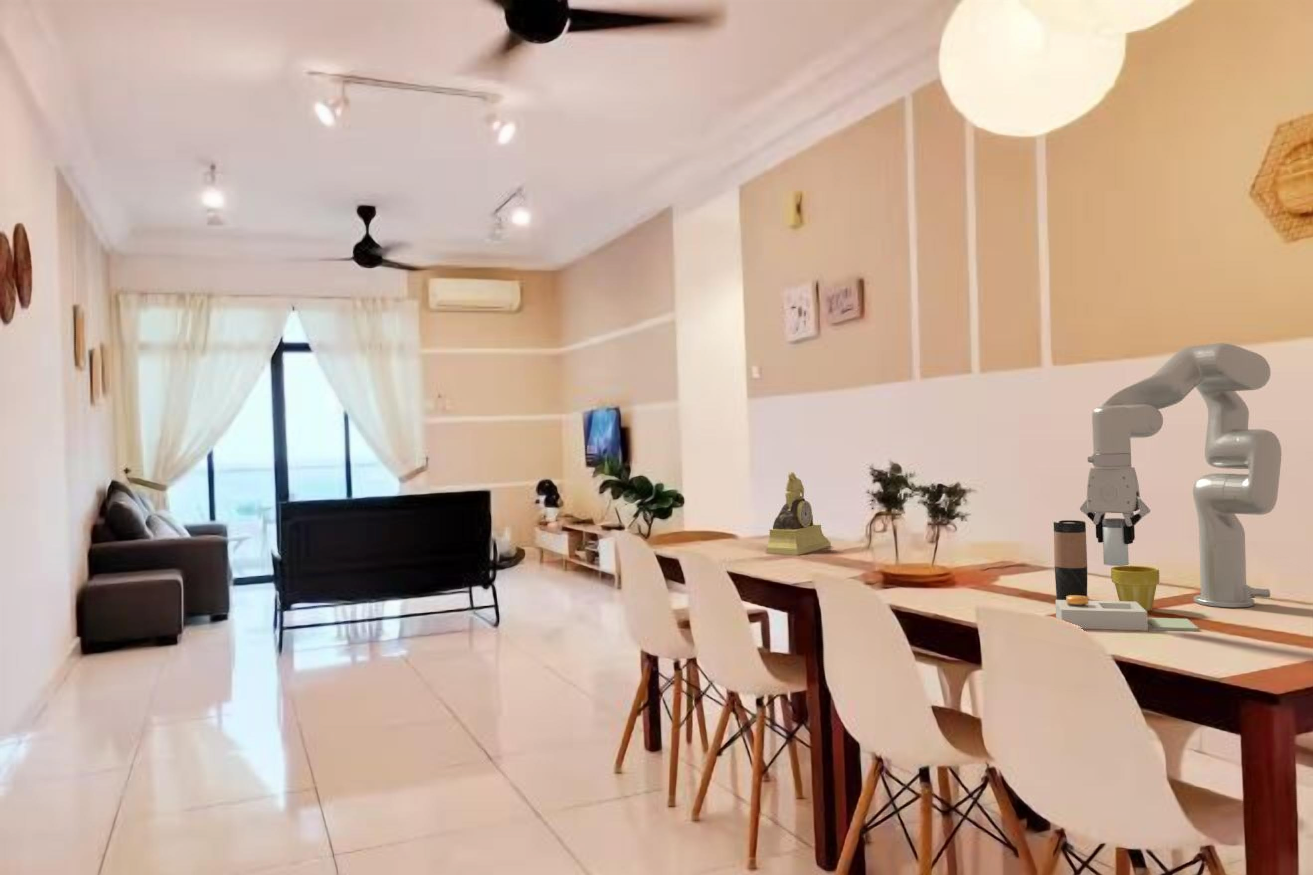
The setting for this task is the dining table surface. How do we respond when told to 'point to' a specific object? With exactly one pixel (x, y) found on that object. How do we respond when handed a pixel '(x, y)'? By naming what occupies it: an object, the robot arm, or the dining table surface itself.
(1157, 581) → the plant pot
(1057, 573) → the travel mug
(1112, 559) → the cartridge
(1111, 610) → the housing
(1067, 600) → the plunger
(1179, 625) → the mat
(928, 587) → the dining table surface
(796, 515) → the decorative clock
